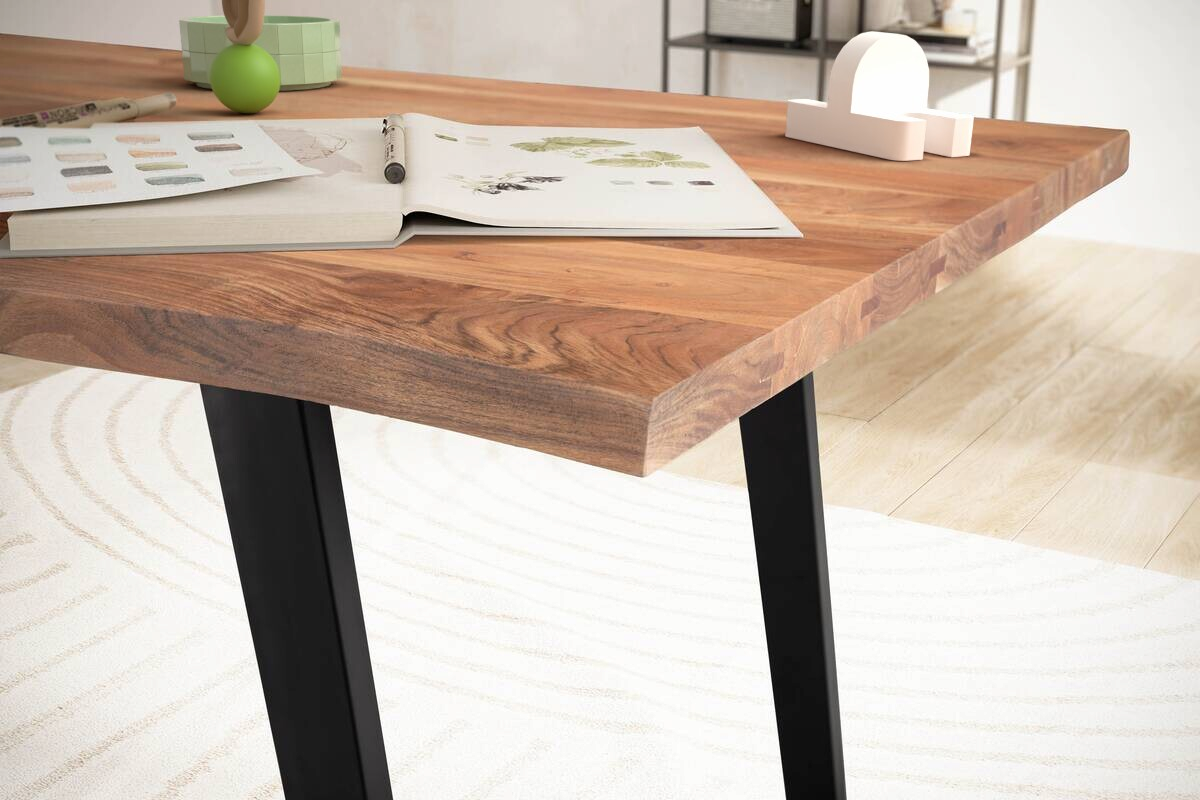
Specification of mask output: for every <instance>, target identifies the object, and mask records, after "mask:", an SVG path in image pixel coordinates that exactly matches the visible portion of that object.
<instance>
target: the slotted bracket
mask: <svg viewBox="0 0 1200 800" xmlns="http://www.w3.org/2000/svg"><path fill="white" fill-rule="evenodd" d="M928 63H929V62H928V58H927V57H926V53H925V52H924V50H923V48H922V47H921V45H920V44H919V43H918V42H917V40H915V39H914V38H911V37H910V36H908V35H907V34H901V33H891V32H881V31H872V30H871V31H866V32H861V33H859V34H857V35H856V36H854V37H852V38H851V39H850V40H849V41H848V42H847V43H845V45H843V47H842V48H841V50H840V51H839V52H838V54H837V56H836V58H835V60H834V62H833V65H832V67H831V71H830V76H829V81H828V91H827V102H826V101H820V100H814V99H808V98H800V99H799V98H798V99H788V100H787V104H786V105H787V106H786V107H787V108H786V121H785V135H784V136H785V137H786V138H790V139H794V140H799V141H804V142H808V143H813V144H818V145H822V146H826V147H831V148H836V149H840V150H845V151H850V152H853V153H858V154H863V155H866V156H872V157H877V158H881V159H885V160H890V161H898V162H905V161H907V162H908V161H920V160H921V161H922V160H923V159H924V152H925V153H929V154H934V155H938V156H939V155H940V156H944V157H949V158H959V157H967V156H970V153H971V145H972V138H973V137H972V136H973V129H974V118H975V116H974V115H969V114H963V113H957V112H952V111H944V110H938V109H933V108H927V107H928V97H929V87H930V68H929V64H928Z"/></svg>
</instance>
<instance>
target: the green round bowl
mask: <svg viewBox="0 0 1200 800" xmlns="http://www.w3.org/2000/svg"><path fill="white" fill-rule="evenodd" d="M178 23H179V32H180V33H179V34H180V35H179V36H180V44H181V45H180V47H181V56H182V66H183V67H182V68H183V79H184V80H185V81H188V82H192V83H195V85H196V86H197V87H199V88H203V89H210V90H212V87H211V84H210V68H211V65H212V62H213V60H214V58H215V57H216V56H217V54H218V53H219V52H220V51H221V50H223V49H224V48H226V47H228V46H230V45H232V44H233V43H232V42H231V41H230V40H229V39H228V37H227V35H226V32H225V28H226V27H230V25H229V24H228V22H227V20H226V18H225V16H224V14H223V15H222V14H221V15H199V16H186V17H180V18H179V20H178ZM340 25H341V24H340V20H339V19H338V18H333V17H325V16H311V15H288V14H287V15H286V14H285V15H281V14H278V15H277V14H264V21H263V27H262V31H261V34H260V36H259V37H258V38H257V39H256V40H255V41H254V42H253V43H252V44H253V45H256V46H258V47H260V48H262V49H264V50H265V51H266V52H268V53H269V54H270V55H271V56H272V58H273V59H274V61H275V62H276V64H277V66H278V69H279V72H280V79H281V82H280V89H279V92H287V91H304V90H314V89H320V88H325V87H329V86H331V85H332V82H336V81H339V80H340V79H342V78H343V70H342V67H343V66H342V49H341V48H342V46H341V28H340Z"/></svg>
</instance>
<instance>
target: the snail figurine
mask: <svg viewBox="0 0 1200 800" xmlns="http://www.w3.org/2000/svg"><path fill="white" fill-rule="evenodd" d="M221 8H222V12H223V15H224V16H225V18H226V20H227V22H228V24H229V25H230V27H226V28H225V32H226V35H227V37H228V39H229V40H230V41H231V42H232V43H233V44H232V45H230V46H228V47H226V48H224V49H223V50H221V51H220V52H219V53H218V54H217V56H216V57H215V58H214V60H213V62H212V65H211V68H210V84H211V87H212V89H211V90H212V92H213V94H214V96H215V97H216V99H217V100H218V101H219V102H220V103H221V104H222V105H223V106H224V107H226V108H227V109H229V110H231V111H233V112H235V113H240V114H256V113H258V112H261V111H263V110H266V109H267V108H268V107H270V105H271V104H273V103H274V101H275V100H276V98H277V96H278V95H279V92H280V91H279V89H280V82H281V79H280V72H279V69H278V66H277V64H276V62H275V61H274V59H273V58H272V56H271V55H270V54H269V53H268V52H266V51H265V50H264V49H262V48H260V47H258V46H256V45H253V44H252V43H253V42H254V41H255V40H256V39H257V38H258V37H259V36H260V34H261V31H262V27H263V21H264V15H265V12H266V0H221Z"/></svg>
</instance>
